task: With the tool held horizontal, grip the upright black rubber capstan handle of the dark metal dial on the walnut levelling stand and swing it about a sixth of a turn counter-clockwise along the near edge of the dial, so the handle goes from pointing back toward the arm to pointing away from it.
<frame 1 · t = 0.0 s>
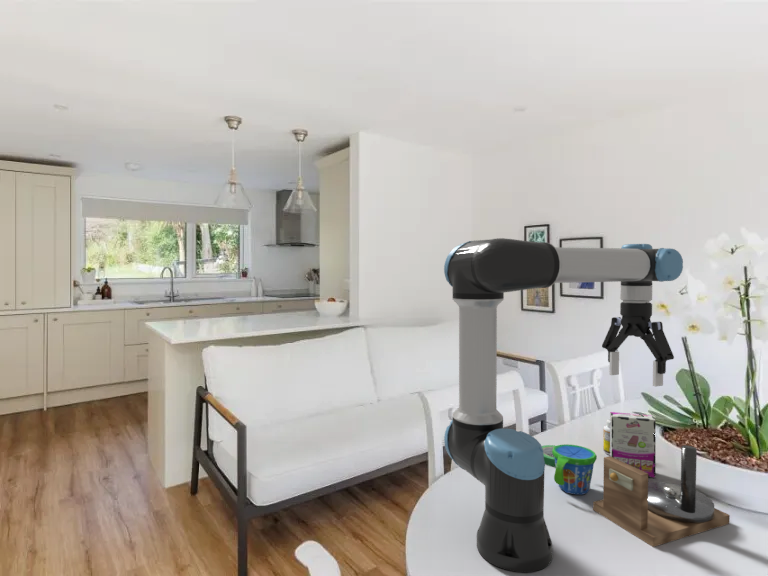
hand: (634, 380, 125), 28 cm above the table, tool pointing down, fingers open, 13 cm apart
supplement bottle: (613, 454, 145), on the table
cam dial: (675, 471, 108), point 10 cm above the table, hinge at -120.0°
snack cup: (573, 489, 122), on the table
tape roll: (555, 461, 141), on the table
levelling stand: (659, 516, 108), on the table
candy bar box: (631, 472, 132), on the table
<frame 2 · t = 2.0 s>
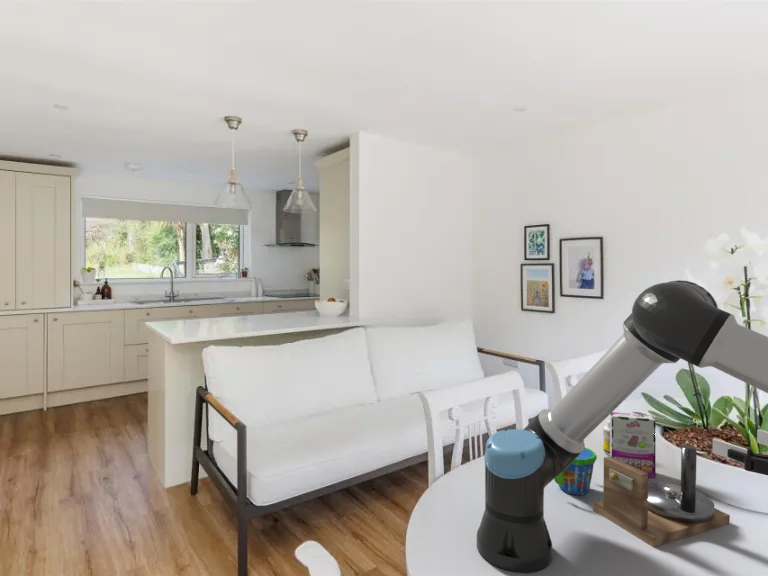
hand: (736, 440, 93), 23 cm above the table, tool horizontal, fingers open, 13 cm apart
nothing on the table moved.
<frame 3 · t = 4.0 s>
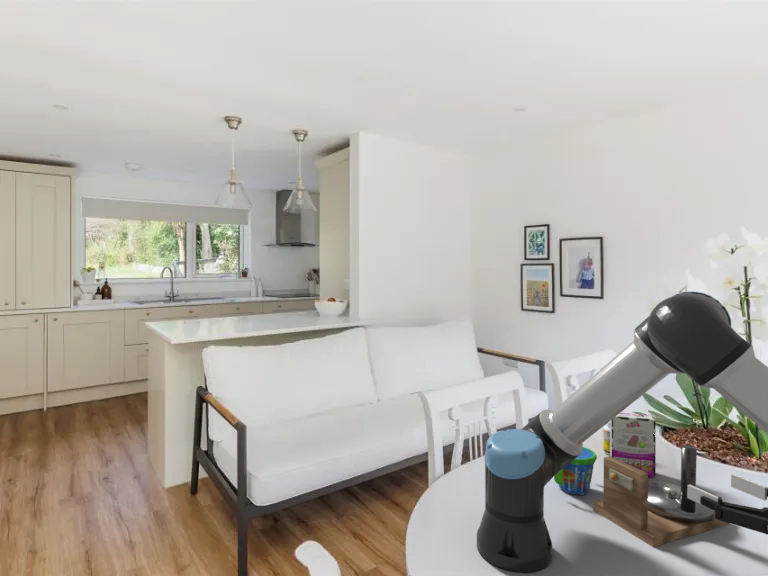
hand: (710, 485, 98), 12 cm above the table, tool horizontal, fingers open, 13 cm apart
nothing on the table moved.
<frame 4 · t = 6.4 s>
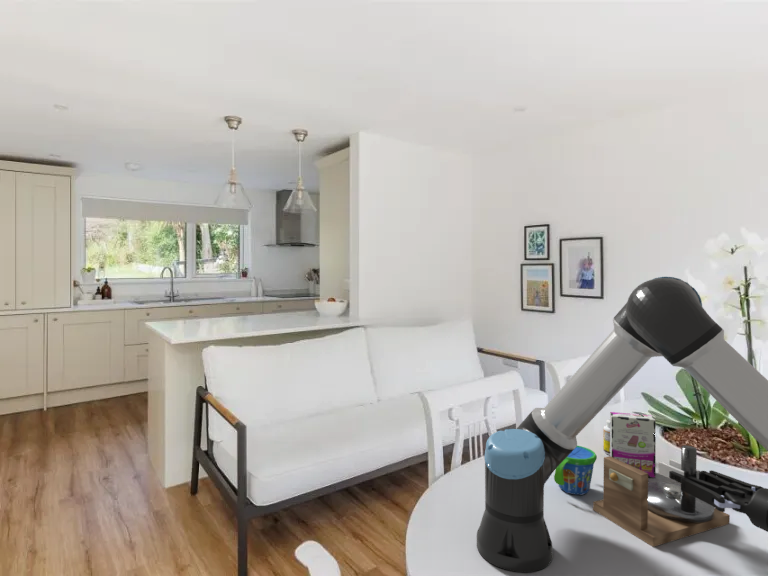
hand: (665, 466, 107), 12 cm above the table, tool horizontal, fingers closed on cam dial, 3 cm apart
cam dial: (675, 471, 108), point 10 cm above the table, hinge at -120.0°, touching gripper
everything else where it was.
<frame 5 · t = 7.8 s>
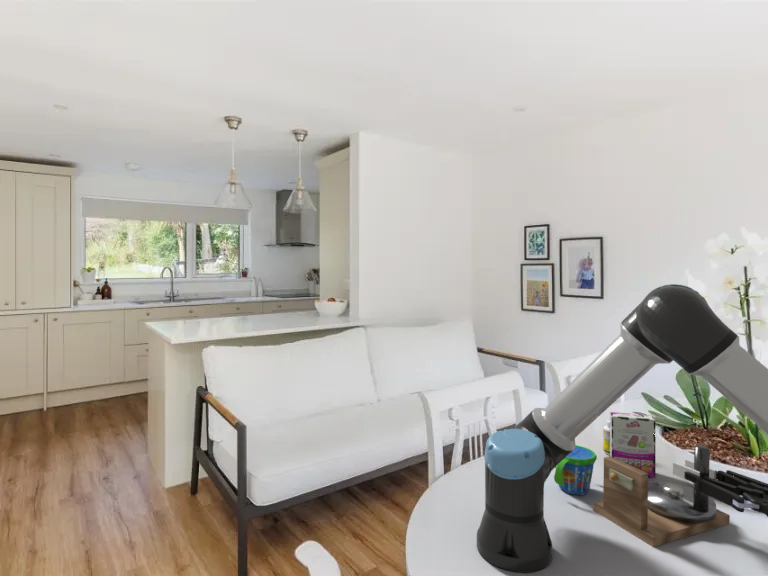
hand: (680, 466, 107), 12 cm above the table, tool horizontal, fingers open, 3 cm apart
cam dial: (677, 471, 108), point 10 cm above the table, hinge at -95.1°, touching gripper
everything else where it was.
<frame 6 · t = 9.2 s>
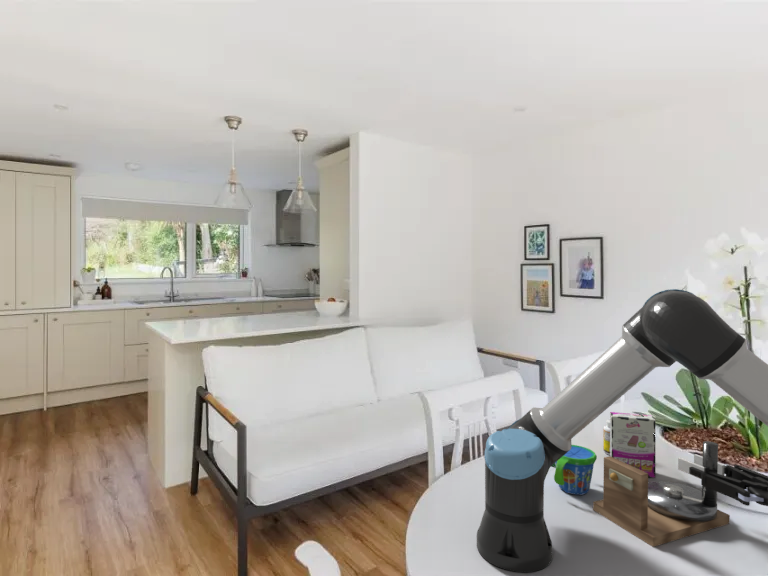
hand: (687, 461, 110), 12 cm above the table, tool horizontal, fingers open, 5 cm apart
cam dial: (678, 470, 108), point 10 cm above the table, hinge at -60.6°
everything else where it was.
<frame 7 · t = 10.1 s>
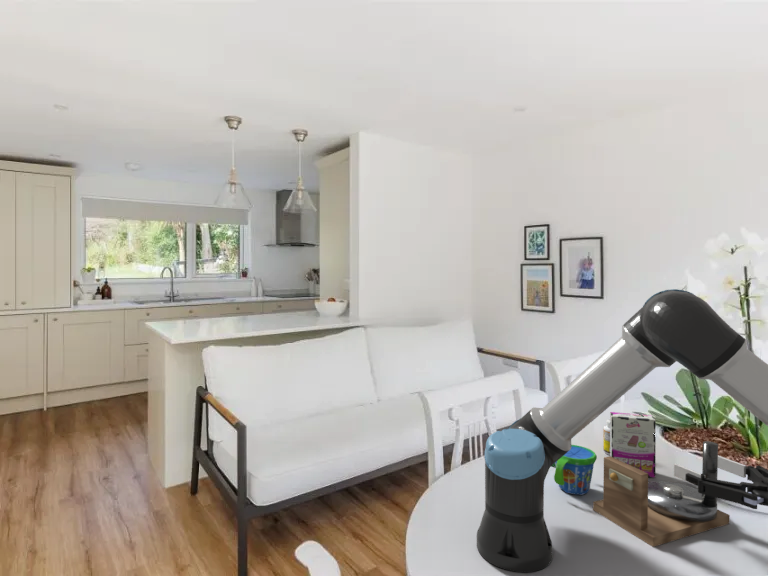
hand: (695, 465, 108), 12 cm above the table, tool horizontal, fingers open, 13 cm apart
nothing on the table moved.
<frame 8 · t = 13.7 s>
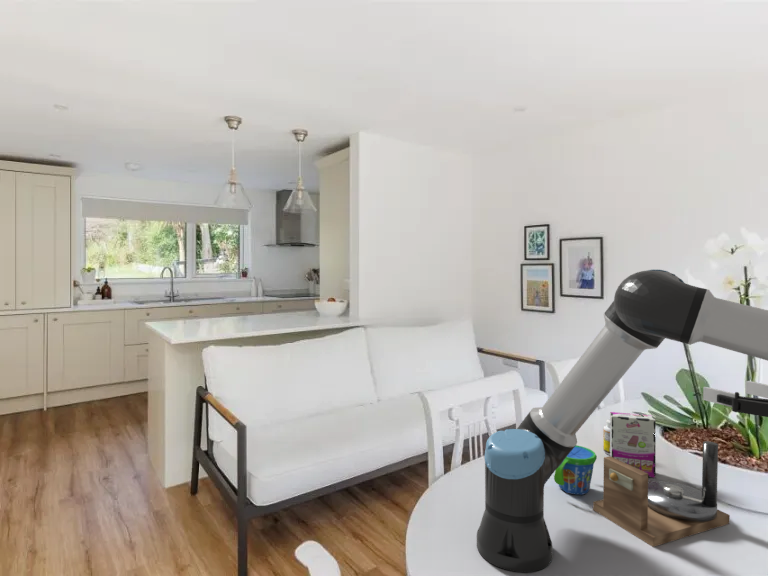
hand: (725, 390, 99), 32 cm above the table, tool horizontal, fingers open, 13 cm apart
nothing on the table moved.
at the end: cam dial at -61° (first picture: -120°); the gripper is holding nothing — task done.
